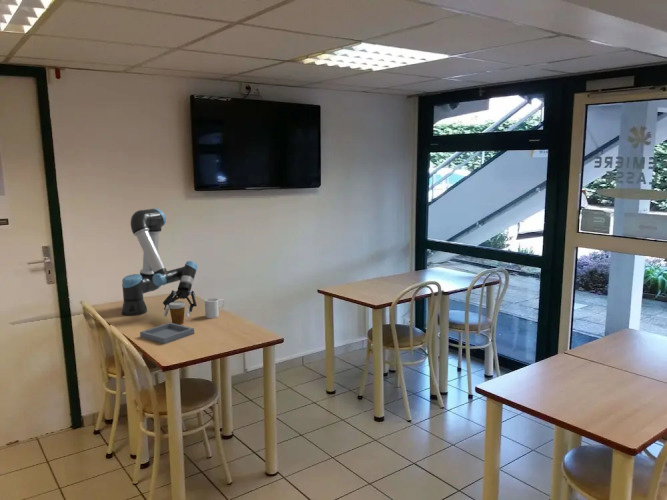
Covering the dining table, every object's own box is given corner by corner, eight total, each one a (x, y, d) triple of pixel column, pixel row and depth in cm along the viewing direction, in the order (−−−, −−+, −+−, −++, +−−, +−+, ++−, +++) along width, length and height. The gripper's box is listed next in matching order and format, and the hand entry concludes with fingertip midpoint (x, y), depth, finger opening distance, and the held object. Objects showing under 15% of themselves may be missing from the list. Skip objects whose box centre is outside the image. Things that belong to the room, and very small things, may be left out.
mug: (208, 319, 318) (207, 302, 317) (203, 316, 325) (202, 299, 323) (227, 315, 325) (226, 299, 324) (222, 312, 332) (221, 296, 330)
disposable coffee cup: (188, 320, 315) (187, 301, 313) (182, 325, 306) (181, 305, 304) (173, 320, 316) (172, 301, 314) (166, 325, 307) (165, 305, 305)
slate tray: (140, 337, 287) (140, 332, 286) (170, 327, 303) (170, 322, 302) (164, 344, 276) (164, 338, 275) (194, 333, 292) (194, 328, 291)
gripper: (207, 288, 322) (198, 319, 309) (168, 287, 325) (158, 318, 313) (203, 281, 315) (194, 313, 303) (163, 280, 319) (153, 312, 307)
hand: (176, 315), depth 308 cm, fingers open, 13 cm apart
